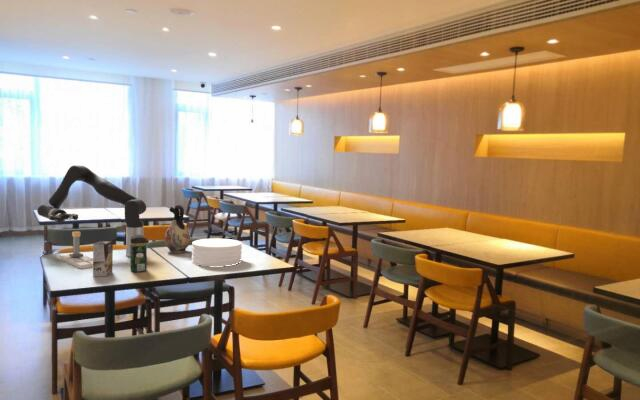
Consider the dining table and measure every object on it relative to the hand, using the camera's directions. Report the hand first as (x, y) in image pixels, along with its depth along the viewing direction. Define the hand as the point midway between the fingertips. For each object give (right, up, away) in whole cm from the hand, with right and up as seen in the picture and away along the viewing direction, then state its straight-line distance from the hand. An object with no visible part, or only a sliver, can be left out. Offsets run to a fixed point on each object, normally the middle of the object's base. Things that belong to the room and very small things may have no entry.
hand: (68, 218), depth 266 cm
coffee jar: (+47, -26, -20) cm, 58 cm away
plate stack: (+82, -26, +8) cm, 86 cm away
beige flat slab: (+12, -24, -9) cm, 28 cm away
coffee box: (+34, -27, -31) cm, 53 cm away
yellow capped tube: (+7, -21, -6) cm, 23 cm away
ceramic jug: (+53, -22, +30) cm, 64 cm away
